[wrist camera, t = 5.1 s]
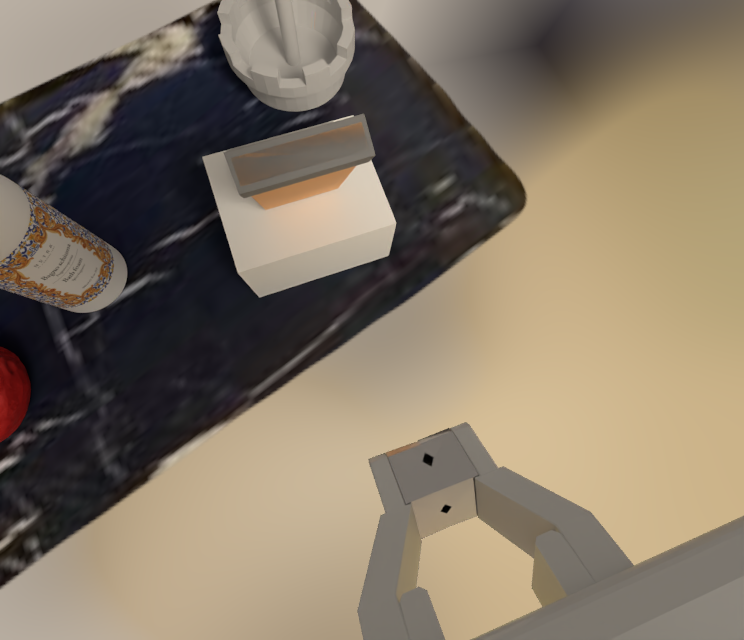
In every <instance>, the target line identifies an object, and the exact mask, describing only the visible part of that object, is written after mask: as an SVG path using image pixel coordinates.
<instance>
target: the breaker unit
mask: <svg viewBox="0 0 744 640" xmlns="http://www.w3.org/2000/svg"><path fill="white" fill-rule="evenodd" d="M350 117H354V116H353V115H352V116H349V117H345V118H341V119H338V120H334V121H330V122H327V123H323V124H320V125H316V126H312V127H309V128H305V129H301V130H298V131H294V132H290V133H287V134H283V135H280V136H276V137H272V138H269V139H265V140H261V141H258V142H254V143H251V144H247V145H243V146H240V147H236V148H232V149H229V150H225V151H222V152H218V153H214V154H211V155H207V156H203V157H202V158H203V161H204V164H205V167H206V171H207V174H208V177H209V181H210V184H211V187H212V190H213V194H214V197H215V200H216V203H217V207H218V210H219V213H220V217H221V220H222V223H223V226H224V230H225V233H226V236H227V239H228V243H229V246H230V249H231V253H232V256H233V259H234V262H235V266H236V269H237V272H238V274H239V275H240V276H241V277H242V278H243V280H244V281H245V282H246V283H247V284H248V285H249V286H250V287H251V289H252V290H253V291H254V292H255V293H256V294H257V295H258V297H259V298H260V297H263V296H266V295H269V294H272V293H275V292H278V291H281V290H284V289H287V288H290V287H294V286H297V285H300V284H303V283H306V282H309V281H312V280H315V279H318V278H321V277H324V276H328V275H331V274H334V273H337V272H340V271H343V270H346V269H349V268H352V267H355V266H358V265H362V264H365V263H368V262H371V261H374V260H377V259H380V258H383V257H386V256H389V252H390V248H391V244H392V239H393V235H394V231H395V227H396V221H395V219H394V216H393V213H392V211H391V208H390V206H389V203H388V201H387V198H386V196H385V193H384V191H383V188H382V186H381V183H380V181H379V178H378V176H377V173H376V171H375V168H374V166H373V163H372V161H371V160H370V161H369V162H367V163H364V164H360V165H357V166H356V167H355V168H354V169H353V171H352V172H351V173H350V174H349V176H348V177H347V178H346V179H345V180H344V182H343V183H342V184H341V185H340V187H339V188H338V189H335V190H331V191H328V192H325V193H321V194H318V195H315V196H311V197H308V198H305V199H301V200H298V201H294V202H291V203H288V204H284V205H281V206H278V207H274V208H271V209H268V210H265V209H264V208H263V207H262V206H261V205H260V204H259V203H258V202H257V201H256V200H254V199H253V198H252V197H251V196H250V197H247V198H243V197H241V196H240V195H239V193H238V191H237V188H236V185H235V183H234V180H233V177H232V174H231V172H230V169H229V166H228V164H227V161H226V158H225V156H224V153H223V152H227V151H231V150H234V149H238V148H242V147H245V146H249V145H252V144H256V143H260V142H263V141H267V140H271V139H274V138H278V137H281V136H285V135H289V134H292V133H296V132H300V131H303V130H307V129H310V128H314V127H318V126H321V125H325V124H329V123H332V122H336V121H339V120H343V119H347V118H350Z"/></svg>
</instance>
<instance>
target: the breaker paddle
mask: <svg viewBox="0 0 744 640" xmlns="http://www.w3.org/2000/svg"><path fill="white" fill-rule="evenodd" d="M223 153H224V156H225V158H226V161H227V164H228V166H229V169H230V172H231V174H232V177H233V180H234V183H235V185H236V188H237V191H238V193H239V195H240V196H241V197H243V198H247V197H250V196H251V197H252V198H253V199H254V200H256V201H257V202H258V203H259V204H260V205H261V206H262V207H263V208H264V209H265V210H268V209H271V208H274V207H278V206H281V205H284V204H288V203H291V202H294V201H298V200H301V199H305V198H308V197H311V196H315V195H318V194H321V193H325V192H328V191H331V190H335V189H338V188H339V187H340V185H341V184H342V183H343V182H344V180H345V179H346V178H347V177H348V176H349V174H350V173H351V172H352V171H353V169H354V168H355V167H356V166H357V165H360V164H364V163H367V162H369V161H370V160H371V159H372V158H373V157H374V156H375V152H374V148H373V145H372V141H371V137H370V134H369V130H368V127H367V123H366V119H365V116H364V114H361V115H358V116H354V117H350V118H347V119H343V120H339V121H336V122H332V123H329V124H325V125H321V126H318V127H314V128H310V129H307V130H303V131H300V132H296V133H292V134H289V135H285V136H281V137H278V138H274V139H271V140H267V141H263V142H260V143H256V144H252V145H249V146H245V147H242V148H238V149H234V150H231V151H227V152H223Z"/></svg>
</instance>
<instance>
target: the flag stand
mask: <svg viewBox="0 0 744 640" xmlns="http://www.w3.org/2000/svg"><path fill="white" fill-rule="evenodd" d="M217 13H218V16H219V19H220V22H221V34H219V35H218V36H219V38H220V41H221V44H222V47H223V49H224V52H225V55H226V57H227V60H228V62H229V65H230V67H231V68H232V70H233V71H234V72H235V74H236V75H237V76H238V77H239V78H240V79H241V80H242V81H243V82H244V83H245V84H247V86H248V88H249V89H250V90H251V92H252V93H253V94H254V95H255V96H256V97H257V98H258V99H259V100H260V101H262V102H263V103H265V104H267V105H268V106H271V107H273V108H276V109H279V110H284V111H305V110H310V109H313V108H316V107H318V106H320V105H322V104H324V103H326V102H327V101H328V100H330V99H331V98H332V97H333V96H334V95H335V94H336V93H337V91H338V90H339V89H340V87H341V85H342V83H343V80H344V76H345V72H346V71H347V69H348V67H349V65H350V63H351V61H352V58H353V54H354V50H355V28H354V25H353V20H352V6H351V4H350V2H349V0H222V1H221V3H220V6H219V9H218V12H217Z"/></svg>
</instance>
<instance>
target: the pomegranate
mask: <svg viewBox="0 0 744 640" xmlns="http://www.w3.org/2000/svg"><path fill="white" fill-rule="evenodd" d="M30 393H31V384H30V379H29V376H28V373H27V371H26V368H25V366H24V365H23V363H22V362H21V361H20V359H19V358H18V357H17V356H16V355H15V354H14V353H13V352H11V351H9V350H7V349H6V348H3V347H1V346H0V442H2V441H3V440H5V439H6V438H7V437H9V436H10V435H11V434H12V433H13V432H14V431H15V430H16V429H17V428H18V427H19V425H20V424H21V423H22V420H23V419H24V417H25V415H26V412H27V409H28V405H29V401H30Z"/></svg>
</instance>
